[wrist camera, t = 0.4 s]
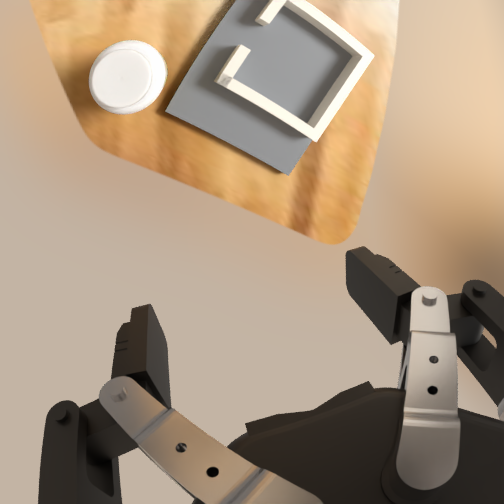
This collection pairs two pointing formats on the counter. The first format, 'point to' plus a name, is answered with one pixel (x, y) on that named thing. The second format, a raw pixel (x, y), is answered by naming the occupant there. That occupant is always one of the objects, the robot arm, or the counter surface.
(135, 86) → the supplement bottle
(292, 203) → the counter surface
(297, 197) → the counter surface
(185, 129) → the counter surface
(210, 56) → the grey board with frame
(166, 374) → the robot arm
